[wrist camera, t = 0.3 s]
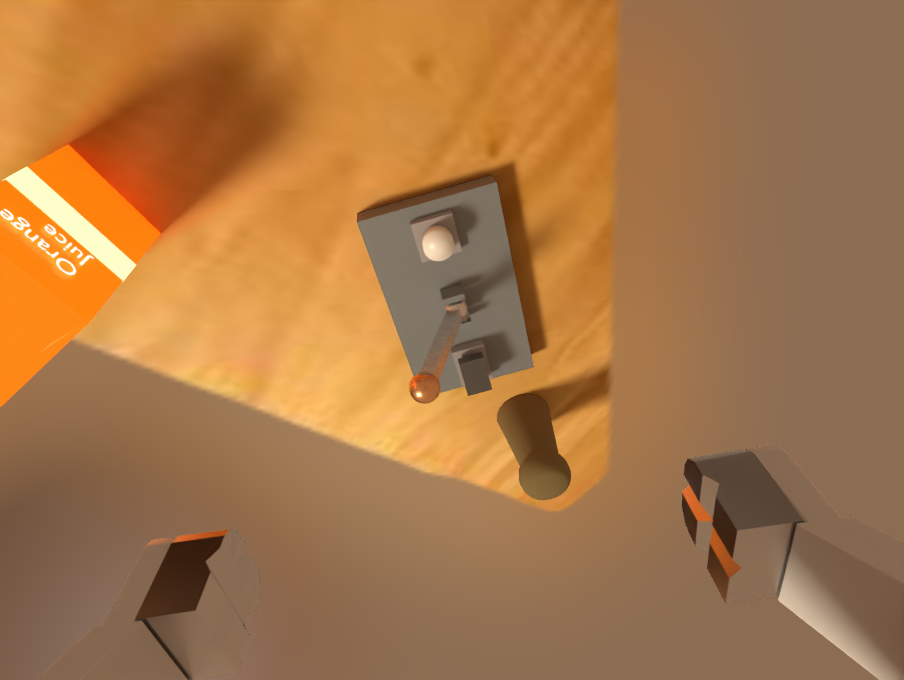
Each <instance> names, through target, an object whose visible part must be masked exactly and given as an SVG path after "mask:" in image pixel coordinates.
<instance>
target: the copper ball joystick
mask: <svg viewBox="0 0 904 680" xmlns="http://www.w3.org/2000/svg"><path fill="white" fill-rule="evenodd" d="M444 307H445V310H446V313H445V315H444V317H443V320H442V322H441V324H440V326H439V329H438V331H437V333H436V336H435V338H434V340H433V343H432V345H431V347H430V349H429V352H428V354H427V356H426V359H425V361H424V363H423V365H422V368H421V370H420V372H419V373H418V374H416V375H415V376H414V377H413V378H412V379H411V381H410V384H409V392H410V395H411V396H412V398H413V399H414V400H415V401H417V402H419V403H424V404H425V403H430V402H432V401H434V400H435V399H436V398H437V397H438V395H439V393H440V383H439V379H440V377H441V374H442V371H443V369H444V366H445V364H446V361H447V358H448V356H449V353H450V351H451V348H452V346H453V343H454V340H455V338H456V335H457V333H458V330H459V327H460V325H461V323H463V322H465V321H466V320H468V319H469V317H470V314H469V311H468V307H467V303H466V300H462V301H458V302H454V303H451V304H447V305H444Z"/></svg>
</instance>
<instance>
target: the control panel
mask: <svg viewBox="0 0 904 680" xmlns="http://www.w3.org/2000/svg"><path fill="white" fill-rule="evenodd" d="M357 223H358V226H359V229H360V232H361V234H362V237H363V240H364V242H365V245H366V248H367V251H368V253H369V256H370V259H371V261H372V264H373V267H374V270H375V272H376V275H377V278H378V280H379V283H380V286H381V289H382V291H383V294H384V297H385V299H386V302H387V305H388V308H389V310H390V313H391V316H392V318H393V321H394V324H395V327H396V329H397V332H398V335H399V337H400V340H401V343H402V346H403V348H404V351H405V354H406V356H407V359H408V362H409V365H410V367H411V370H412V373H413V375H414V376H415V375H416V374H418V373H419V372H420V370H421V368H422V365H423V363H424V361H425V359H426V356H427V354H428V352H429V349H430V347H431V345H432V343H433V340H434V338H435V336H436V333H437V331H438V329H439V326H440V324H441V322H442V320H443V317H444V315H445V313H446V310H445V307H444V305H447V304H451V303H454V302H458V301H462V300H466V303H467V307H468V311H469V314H470V317H469V319H468V320H466V321H465V322H463V323H461V325H460V327H459V330H458V333H457V335H456V338H455V340H454V343H453V346H452V348H451V351H450V353H449V356H448V358H447V361H446V364H445V366H444V369H443V371H442V374H441V377H440V379H439V383H440V393H441V392H445V391H449V390H452V389H456V388H459V387H464V386H465V383H464V380H463V376H462V373H461V369H460V366H459V362H458V359H459V358H462V357H466V356H469V355H473V354H477V353H480V352H482V354H483V358H484V361H485V365H486V369H487V372H488V376H489V379H493V378H496V377H499V376H503V375H506V374H510V373H514V372H517V371H521V370H525V369H528V368H532V367H533V362H532V357H531V352H530V347H529V342H528V337H527V332H526V327H525V322H524V317H523V312H522V307H521V302H520V297H519V292H518V287H517V282H516V277H515V272H514V267H513V262H512V257H511V252H510V247H509V241H508V236H507V231H506V226H505V221H504V216H503V211H502V206H501V201H500V196H499V191H498V186H497V182H496V180H495V179H494V177H493V176H492V175H490V176H486V177H483V178H479V179H476V180H472V181H469V182H465V183H462V184H458V185H455V186H451V187H448V188H444V189H441V190H437V191H434V192H430V193H427V194H423V195H420V196H416V197H413V198H409V199H406V200H403V201H399V202H396V203H392V204H389V205H385V206H382V207H378V208H375V209H371V210H368V211H364V212H361V213H357ZM435 225H440V226H444V227H446V228H447V229H448V230H449V231H450V232H451V234H452V237H453V240H454V244H455V248H454V252H453V253H452V255H451V256H450V257H449V258H448V259H446V260H443V261H433V260H431V259H429V258H428V257H427V256H426V255H425V253H424V250H423V245H422V236H423V234H424V232H425V231H426V230H427V229H428V228H429V227H432V226H435Z"/></svg>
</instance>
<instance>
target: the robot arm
mask: <svg viewBox="0 0 904 680" xmlns="http://www.w3.org/2000/svg"><path fill="white" fill-rule="evenodd" d="M684 476H685V478H686V480H687V482H688V483H689V486H688V487H687V488H686V489H685V490H684V491H683V492H682V510H683V516H684V521H685V524H686V527H687V529H688V532H689V534H690V536H691V538H692V540H693V542H694V544H695V546H696V547H698V548H700V549H701V550H702V551H704V552H706V553H707V554H708V563H707V569H708V571H709V573H710V575H711V577H712V579H713V581H714V582H715V584H716V586H717V588H718V590H719V592H720V594H721V596H722V598H723V600H724V601H725V603H736V602H745V601H753V600H762V599H771V598H779V599H778V600H779V601H780V602H781V603H782V604H783V605H785V606H786V607H787V608H789V609H790V610H791V611H792V612H794V613H795V614H796V615H797V616H799V617H800V618H801V619H803V620H804V621H805V622H806V623H808V624H809V625H810V626H812V627H813V628H814V629H815V630H817V631H818V632H819V633H821V634H822V635H823V636H824V637H826V638H827V639H828V640H829V641H831V642H832V643H833V644H835V645H836V646H837V647H838V648H840V649H841V650H842V651H843V652H845V653H846V654H847V655H848V656H850V657H851V658H852V659H854V660H855V661H856V662H857V663H859V664H860V665H861V666H863V667H864V668H865V669H866V670H868V671H869V672H870V673H871V674H873V675H874V676H875V677H877V678H878V679H879V680H904V542H902V541H900V540H898V539H896V538H894V537H892V536H890V535H888V534H886V533H884V532H882V531H880V530H878V529H875V528H874V527H872V526H870V525H868V524H866V523H864V522H862V521H860V520H858V519H856V518H854V517H852V516H845V517H841V516H840V515H839V514H838V513H837V512H836V511H835V509H834V508H833V507H832V506H831V505H830V504H829V502H828V501H827V500H826V499H825V498H824V496H823V495H822V494H821V493H820V492H819V491H818V489H817V488H816V487H815V486H814V485H813V484H812V483H811V481H810V480H809V479H808V478H807V477H806V475H805V474H804V473H803V472H802V471H801V470H800V468H799V467H798V466H797V465H796V464H795V463H794V462H793V460H792V459H791V458H790V457H789V455H788V454H787V453H786V452H785V451H784V450H783V449H782V448H781V447H779V446H778V445H776V444H774V445H768V446H762V447H756V448H749V449H745V450H737V451H730V452H724V453H718V454H712V455H706V456H700V457H694V458H688V459H687V461H686V462H685V465H684ZM243 545H244V540H243V538H242V537H241V535H240V534H239V532H238V530H231V529H230V530H223V531H214V532H206V533H199V534H191V535H183V536H178V537H171V538H163V539H155V540H152V541H151V542H149V543H148V544H147V545H146V546H145V547H144V548H143V550H142V552H141V554H140V556H139V558H138V559H137V561H136V563H135V565H134V567H133V569H132V571H131V573H130V574H129V576H128V578H127V580H126V582H125V584H124V586H123V588H122V589H121V591H120V593H119V595H118V597H117V599H116V601H115V603H114V605H113V606H112V609H111V610H110V612H109V614H108V616H107V618H106V620H105V621H104V623H103V625H102V626H100V627H94V628H92V629H91V630H90V631H89V632H88V633H87V634H86V635H85V636H83V637H82V638H81V639H80V640H79V641H78V642H77V643H76V644H75V645H73V646H72V647H71V648H70V649H69V650H68V651H67V652H66V653H64V654H63V655H62V656H61V657H60V658H59V659H58V660H56V661H55V662H54V663H53V664H52V665H51V666H50V667H49V668H47V669H46V670H45V671H44V672H43V673H42V674H41V675H40V676H39V677H37V678H36V679H35V680H200V679H206V678H212V677H217V676H224V675H230V674H235V673H238V672H239V669H240V666H241V662H242V659H243V655H244V652H245V648H246V644H247V641H248V638H249V633H248V631H247V629H246V626H245V622H246V621H247V620H248V619H249V618H250V617H251V616H252V615H253V613H254V612H255V611H256V609H257V605H258V601H259V597H260V580H261V578H260V574H259V569H258V566H257V564H256V562H255V560H254V558H253V557H251V556H249V555H248V554H246V553H244V552H242V548H243Z"/></svg>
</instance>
